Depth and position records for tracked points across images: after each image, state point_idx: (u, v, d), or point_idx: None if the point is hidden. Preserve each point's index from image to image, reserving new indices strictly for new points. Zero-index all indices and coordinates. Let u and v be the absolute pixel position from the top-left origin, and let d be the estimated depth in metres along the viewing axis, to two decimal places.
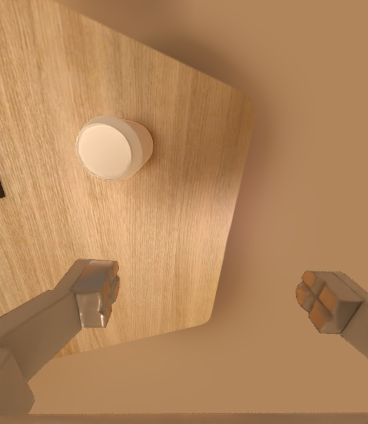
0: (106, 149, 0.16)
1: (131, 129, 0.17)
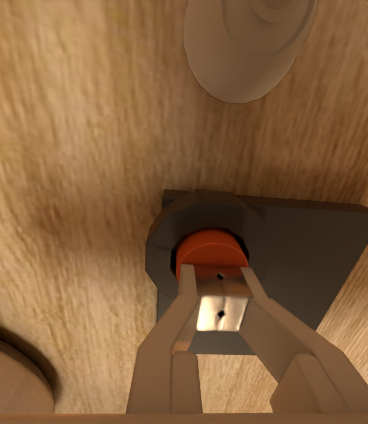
0: None
1: None
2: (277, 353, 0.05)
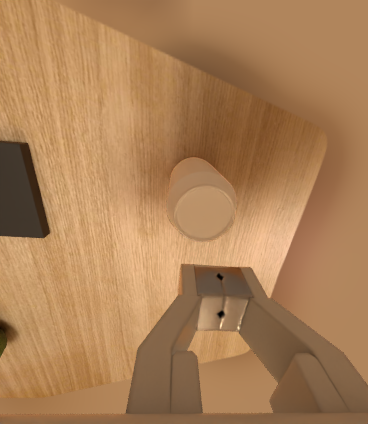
0: (206, 211, 0.14)
1: (230, 185, 0.15)
2: (277, 353, 0.05)
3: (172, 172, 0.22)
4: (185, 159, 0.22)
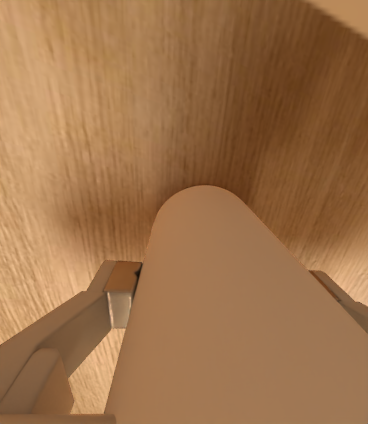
0: None
1: None
2: None
3: (154, 226, 0.09)
4: (186, 192, 0.09)
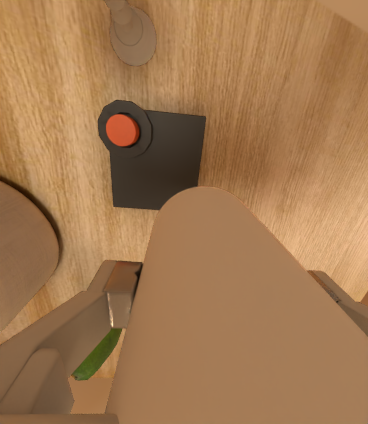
0: None
1: None
2: None
3: (154, 227, 0.09)
4: (186, 193, 0.09)
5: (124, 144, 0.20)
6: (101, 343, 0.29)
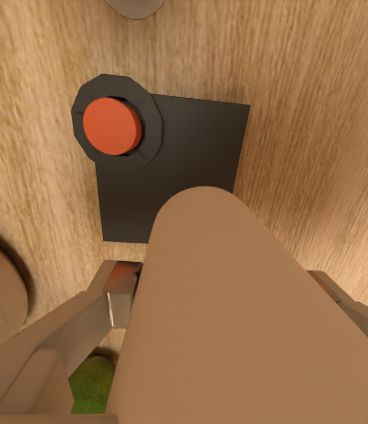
0: None
1: None
2: None
3: (154, 227, 0.09)
4: (186, 193, 0.09)
5: (116, 151, 0.12)
6: None
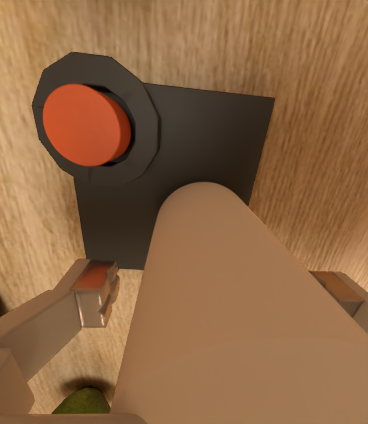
0: None
1: None
2: None
3: (158, 217, 0.10)
4: (187, 188, 0.11)
5: (93, 161, 0.08)
6: None
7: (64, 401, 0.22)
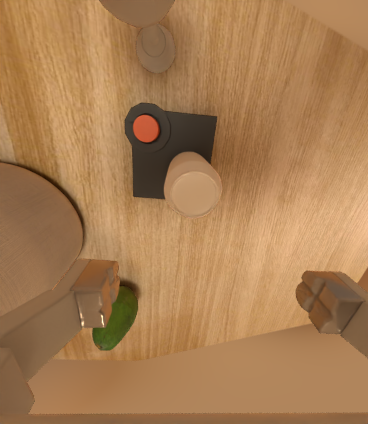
0: (196, 192, 0.18)
1: (216, 172, 0.18)
2: None
3: (170, 164, 0.25)
4: (181, 153, 0.26)
5: (148, 140, 0.24)
6: (121, 319, 0.32)
7: None
